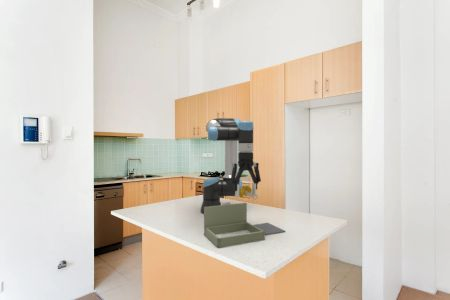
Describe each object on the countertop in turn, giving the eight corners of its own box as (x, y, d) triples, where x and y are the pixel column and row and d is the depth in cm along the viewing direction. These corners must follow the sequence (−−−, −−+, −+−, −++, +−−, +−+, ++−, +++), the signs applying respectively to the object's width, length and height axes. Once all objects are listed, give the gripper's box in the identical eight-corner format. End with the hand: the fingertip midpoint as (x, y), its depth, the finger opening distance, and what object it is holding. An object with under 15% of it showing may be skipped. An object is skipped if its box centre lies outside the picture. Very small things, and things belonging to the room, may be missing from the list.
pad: (249, 226, 137) (249, 225, 137) (267, 223, 142) (267, 222, 142) (265, 235, 122) (265, 234, 122) (285, 232, 127) (285, 230, 127)
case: (204, 234, 123) (204, 204, 123) (245, 228, 133) (245, 200, 133) (218, 248, 106) (218, 213, 106) (264, 239, 116) (264, 208, 116)
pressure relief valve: (233, 196, 123) (245, 193, 131) (253, 204, 115) (264, 200, 123) (235, 185, 122) (246, 183, 130) (254, 192, 115) (266, 190, 122)
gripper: (229, 152, 115) (229, 199, 115) (268, 151, 124) (268, 196, 124) (223, 151, 122) (223, 196, 122) (260, 151, 131) (260, 193, 131)
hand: (245, 196), depth 123 cm, fingers closed on pressure relief valve, 9 cm apart
